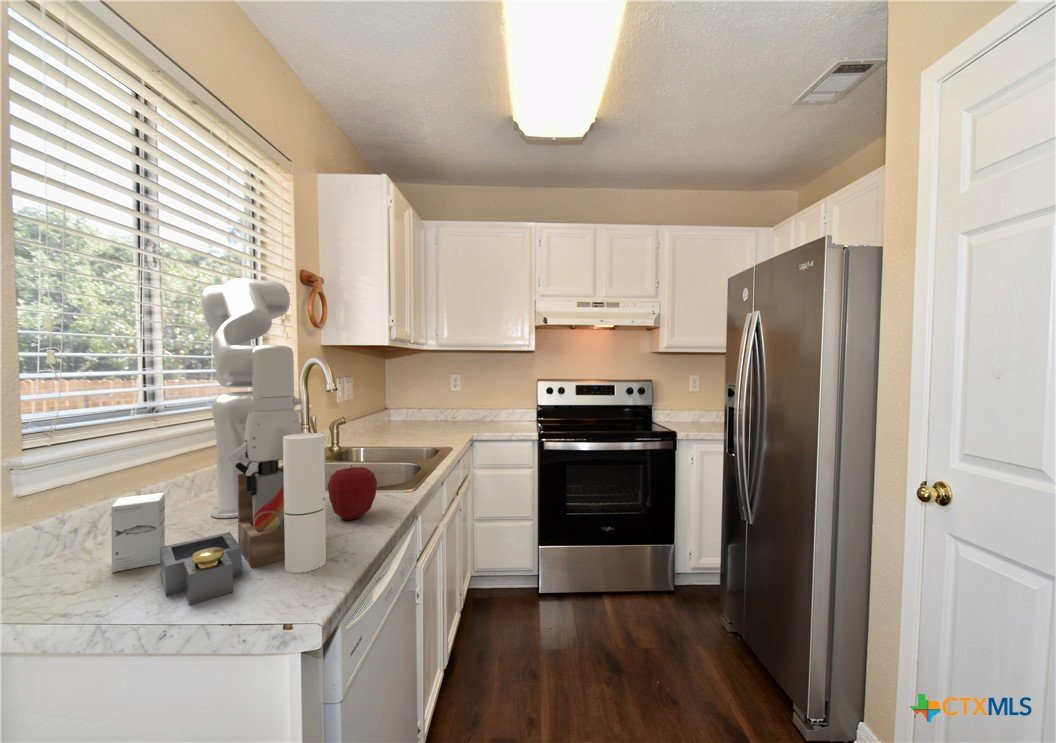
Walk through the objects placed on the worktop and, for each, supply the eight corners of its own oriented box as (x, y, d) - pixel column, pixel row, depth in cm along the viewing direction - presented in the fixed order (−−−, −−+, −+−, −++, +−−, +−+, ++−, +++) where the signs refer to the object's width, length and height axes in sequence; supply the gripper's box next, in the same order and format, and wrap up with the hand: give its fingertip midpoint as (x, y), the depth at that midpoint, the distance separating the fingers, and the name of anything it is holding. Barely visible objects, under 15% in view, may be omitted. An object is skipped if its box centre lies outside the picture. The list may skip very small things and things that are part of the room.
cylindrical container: (330, 555, 92) (328, 432, 92) (320, 571, 85) (318, 438, 85) (292, 558, 91) (290, 433, 90) (279, 574, 84) (277, 439, 83)
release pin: (191, 586, 78) (190, 552, 77) (221, 577, 81) (221, 545, 80) (194, 595, 74) (193, 560, 74) (226, 586, 77) (225, 552, 77)
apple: (366, 525, 109) (366, 470, 109) (318, 525, 109) (318, 470, 109) (383, 509, 121) (383, 459, 121) (340, 509, 121) (339, 460, 121)
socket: (160, 573, 84) (159, 547, 84) (230, 556, 92) (229, 532, 92) (169, 611, 71) (169, 579, 71) (249, 587, 79) (249, 558, 79)
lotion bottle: (270, 554, 90) (268, 454, 90) (246, 552, 92) (244, 453, 91) (291, 543, 96) (289, 448, 96) (268, 541, 97) (266, 448, 97)
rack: (238, 549, 96) (237, 473, 95) (295, 535, 103) (294, 465, 103) (251, 568, 87) (250, 484, 86) (312, 551, 94) (311, 474, 94)
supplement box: (110, 574, 85) (109, 506, 84) (119, 559, 91) (118, 496, 91) (161, 564, 88) (159, 500, 88) (166, 551, 95) (165, 491, 95)
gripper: (312, 401, 103) (313, 479, 103) (220, 406, 91) (221, 494, 91) (323, 403, 97) (325, 485, 97) (227, 409, 85) (229, 502, 85)
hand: (275, 489), depth 94 cm, fingers open, 7 cm apart
